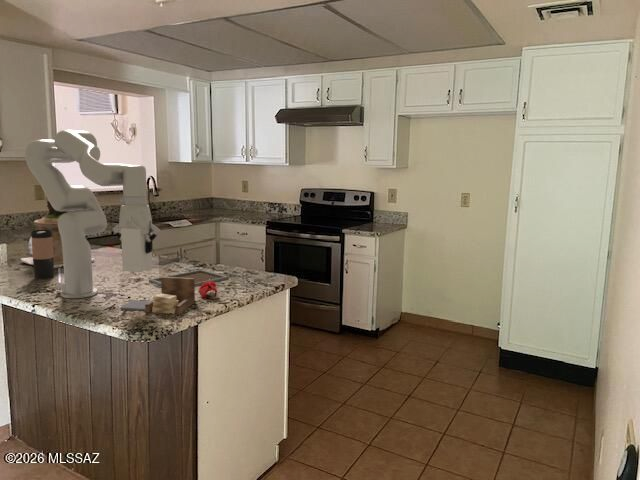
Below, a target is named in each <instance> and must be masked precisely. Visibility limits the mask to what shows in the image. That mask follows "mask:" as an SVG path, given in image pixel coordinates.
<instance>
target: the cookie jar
mask: <svg viewBox="0 0 640 480" xmlns="http://www.w3.org/2000/svg"><path fill="white" fill-rule="evenodd" d="M45 201H46V204H47V205H46V207H47V210H48V213H47V214H46V215H45V216H43V217H42V218H40V219H36V220H34V221H33V225H34V227H35V230H51V231H52V242H53V256H54V269H58V268H59V269H60V268H62V267H64V264H63V250H62V241H61V236H60V232H59V229H58V219H59V217H60V216H61V215H62V214H64V213H67V212H68V211H64V212H60V211H56V210H55V209H54V208H53V207H52V205H51V204H50V202H49V200H48V198H47V196H46V197H45ZM91 259H92V263H93V262H95V261H96V258H95V257H92V256H91ZM20 261H21V264H24V263H25V264H27V265H31V266H34V264H33V256H32V257H22V258H20Z"/></svg>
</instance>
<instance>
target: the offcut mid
mask: <svg viewBox="0 0 640 480" xmlns="http://www.w3.org/2000/svg"><path fill="white" fill-rule="evenodd" d="M178 304H180V302H179V300H177V301H175V302H173V303H170V304H168V303H162V302H156V301H153V307H156V308H167V309H174V308H176V306H177V305H178Z"/></svg>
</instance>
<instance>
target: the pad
mask: <svg viewBox="0 0 640 480" xmlns="http://www.w3.org/2000/svg"><path fill="white" fill-rule="evenodd" d="M150 301H151V300H137V299H132V300H130V301H128V302H127V303H125V304H124V305H122V306H120V310H128V311H131V310H132V311H145V304H147V303H148V302H150Z"/></svg>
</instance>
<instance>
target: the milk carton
mask: <svg viewBox="0 0 640 480" xmlns="http://www.w3.org/2000/svg"><path fill="white" fill-rule="evenodd" d="M130 221H131V222H132V223H133V224H134V225H135V226H136V227H137V228H123V227H124V226H125V225H126V224H127V223H129V222H130ZM127 223H126V224H125V225H124V226H123V227H122V228H121V241H122V246H121V258H122V259H121V263H122V271H123V272H131V273H133V272H134V273H143V272H145V271H148V270H151V269H153V251H152V252H150V253H146V242H147V240H146V238H145V236H144V235H142V229H141V228H140V227H139V226H138V225H136V224H135V223H134V222H133V221H132V220H131V217H129V221H128V222H127ZM149 231H150V228H149Z"/></svg>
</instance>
